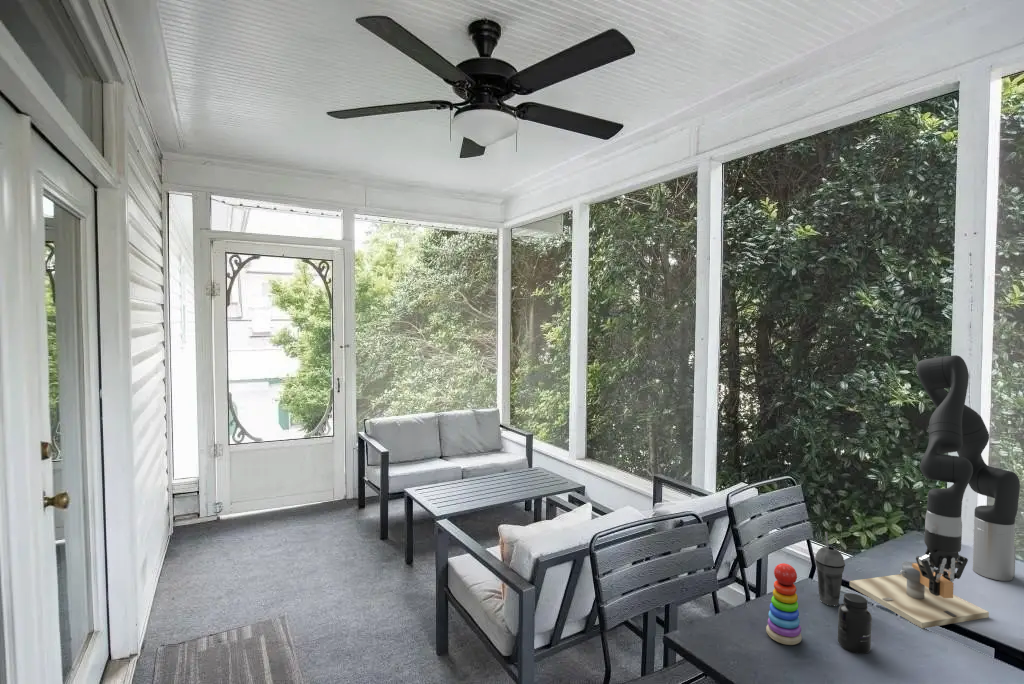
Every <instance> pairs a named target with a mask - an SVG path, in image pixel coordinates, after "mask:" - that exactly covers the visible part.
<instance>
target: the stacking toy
mask: <svg viewBox="0 0 1024 684" xmlns="http://www.w3.org/2000/svg"><path fill="white" fill-rule="evenodd" d="M773 575H774V577H775V579H776V580H775V581H774V582H773V588H774V589H772V597H771V599H770V601H771V602H770V604H769V611H768V619H767V625H766V626H765V628H766V629H765V631H766V634H767V635H768V637H770V639H772V640H773V641H775V642H777V643H779V644H783V645H787V646H795V645H798V644H799V643H801V641H802V640H803V639H802V638H803V636H802V626H801V624H800V623H801V622H800V620H801V619H800V618H799V616H800V612H799V603H798V600H799V597H798V594H797V586H796V585H795V583H796V581H797V578H798V574H797V571H796V569H795V568H794V567H793V566H792V565H791V564H788V563H784V562H783V563H778V564H777V565H776V566H775V567H774V569H773Z"/></svg>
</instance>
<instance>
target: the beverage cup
mask: <svg viewBox="0 0 1024 684" xmlns="http://www.w3.org/2000/svg"><path fill="white" fill-rule="evenodd" d="M824 533H825V534H824V535H825V544H826V546H823V547H821V548H819V549H818V550H817V551H816V554H815V558H814V561H815V568H816V572H817V585H818V595H819V601H820V600H821V601H822V602H823V603H825V604H828V605H833V606H832V607H837V606H836V605H839V602H840V598H841V589H842V582H843V581H842V580H843V573H844V570H845V566H846V564H845V559H844V556H843V555H842V553H841V552H840V551H839V550H838V549H836V548H835V547H832V546H829V537H828V531H825V532H824ZM821 601H820V602H821ZM822 602H821V603H822ZM823 603H822V604H823ZM825 604H824V605H825ZM828 605H827V606H828ZM834 605H835V606H834Z"/></svg>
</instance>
